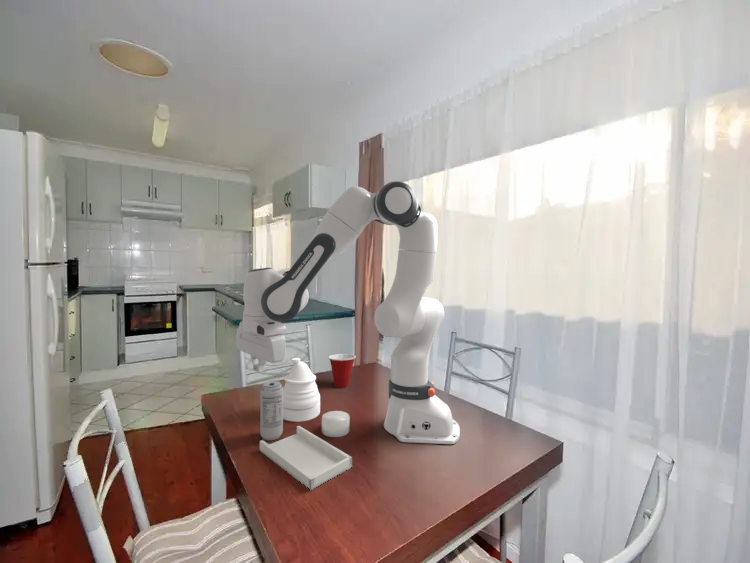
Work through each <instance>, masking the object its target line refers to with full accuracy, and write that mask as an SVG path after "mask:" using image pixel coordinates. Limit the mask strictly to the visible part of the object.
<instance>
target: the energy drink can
mask: <svg viewBox="0 0 750 563" xmlns="http://www.w3.org/2000/svg"><path fill="white" fill-rule="evenodd" d="M283 387H284V386H282V382H281V381H280V380H277V379H276V380H274V379H273V380H267V381H264V382H263V383H262V387H261V388H260V402H259V403H260V408H259V410H260V411H259V413H260V416H259V418H260V419H259V420H260V423H259V424H260V430H259V432H260V436H261V437H262V438H261V439H262V440H263V441H275V440H277V439H279V438H281V435H282V434H283V432H284V427H283V426H284V425H283V424H284V419H283Z"/></svg>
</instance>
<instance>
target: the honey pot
mask: <svg viewBox="0 0 750 563" xmlns="http://www.w3.org/2000/svg"><path fill="white" fill-rule="evenodd" d="M291 363H292V364H293V365H294V366H292V368H291V370H290V372H289V373H288V374H287V375H285V377H284V381H285V383H284V385H283V386H282V387H283V421H284V420H285V421H288V422H294V423H295V422H305V421H311V420H312V419H315V418H317V417H318V416H319V415H320V413H321V394H320V392H319V389H318V385H317V383H316V380H317V376H316V375H315V373H313V372H312V371H311V369H310V367H309V366H308V364H307V363H305V362H304V361H302V360H301V358H299V357H294V358H292V359H291Z"/></svg>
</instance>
